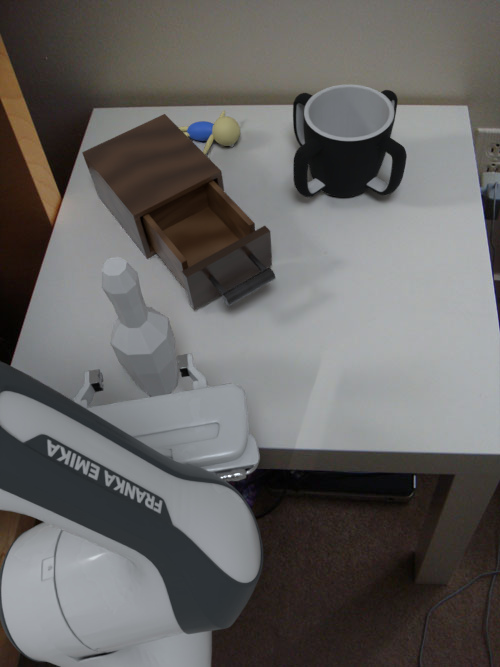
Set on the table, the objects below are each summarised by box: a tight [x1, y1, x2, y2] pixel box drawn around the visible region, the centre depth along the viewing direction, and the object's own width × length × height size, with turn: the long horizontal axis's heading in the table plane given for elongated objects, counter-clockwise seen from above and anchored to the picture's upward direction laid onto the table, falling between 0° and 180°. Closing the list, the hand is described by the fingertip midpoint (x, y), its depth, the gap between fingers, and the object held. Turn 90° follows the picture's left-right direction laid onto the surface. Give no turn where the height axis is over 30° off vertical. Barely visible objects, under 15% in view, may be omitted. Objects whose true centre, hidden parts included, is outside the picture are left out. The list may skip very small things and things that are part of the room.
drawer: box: [140, 180, 276, 310], centre depth 79 cm, size 19×12×7 cm, turn 34°
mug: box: [292, 83, 408, 198], centre depth 86 cm, size 16×16×12 cm
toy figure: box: [176, 110, 241, 156], centre depth 96 cm, size 11×9×5 cm
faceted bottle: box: [101, 256, 179, 397], centre depth 64 cm, size 6×6×22 cm
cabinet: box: [81, 113, 225, 260], centre depth 86 cm, size 16×14×9 cm
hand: (139, 364), depth 61 cm, fingers open, 8 cm apart
